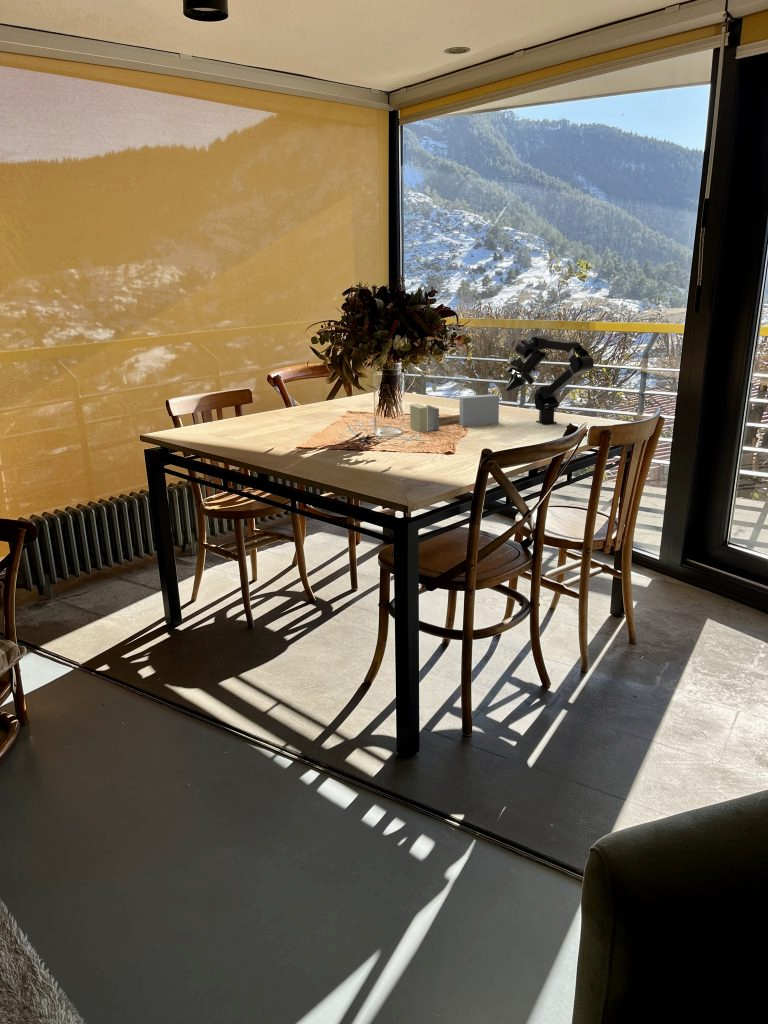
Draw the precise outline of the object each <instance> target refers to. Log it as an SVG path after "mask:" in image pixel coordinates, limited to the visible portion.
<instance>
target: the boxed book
mask: <svg viewBox="0 0 768 1024" xmlns="http://www.w3.org/2000/svg"><path fill="white" fill-rule="evenodd" d="M499 414H500V396H499V394H496V393H494V394H493V393H491V394H490V393H489V394H479V395H478V394H477V395H475V394H474V395H462V396H459V415H460V420H459V423H458V425H460V426H461V427H472V426H483V425H485V426H486V425H487V426H488V425H498V424H499V421H500V417H499V416H500V415H499Z"/></svg>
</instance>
